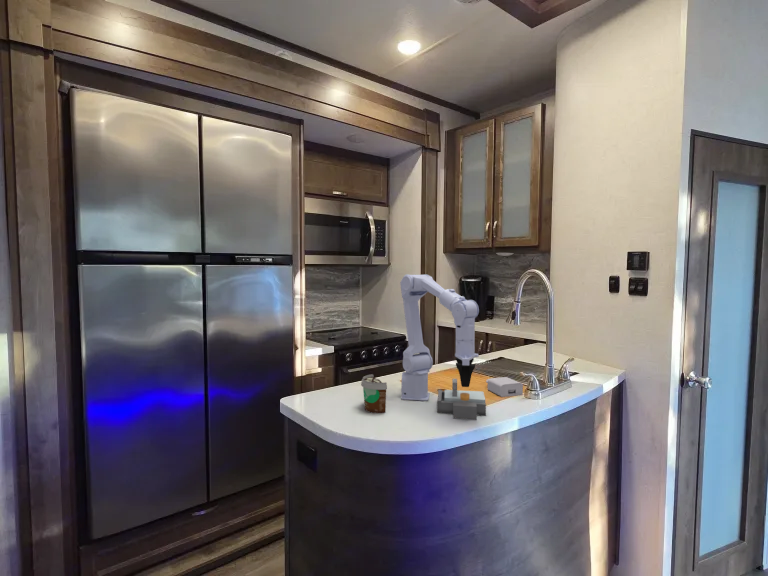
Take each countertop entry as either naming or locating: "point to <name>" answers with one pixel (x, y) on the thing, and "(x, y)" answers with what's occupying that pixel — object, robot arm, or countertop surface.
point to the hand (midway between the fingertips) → (464, 383)
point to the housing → (460, 408)
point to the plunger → (464, 396)
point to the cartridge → (455, 394)
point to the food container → (374, 394)
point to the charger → (505, 386)
